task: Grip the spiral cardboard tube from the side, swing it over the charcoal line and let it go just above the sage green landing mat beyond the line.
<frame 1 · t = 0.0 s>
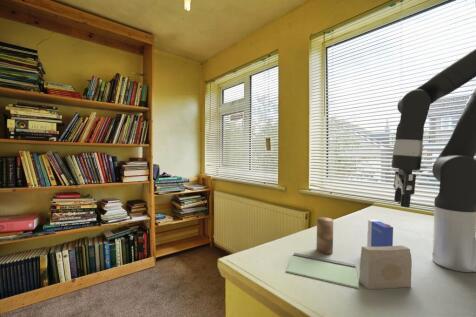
hand: (401, 204, 73), 17 cm above the table, tool pointing down, fingers open, 8 cm apart
fossil: (384, 285, 57), on the table
landing mat: (321, 270, 64), on the table
spiral cardboard tube: (324, 251, 76), on the table
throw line: (323, 260, 70), on the table
walkman: (378, 260, 71), on the table
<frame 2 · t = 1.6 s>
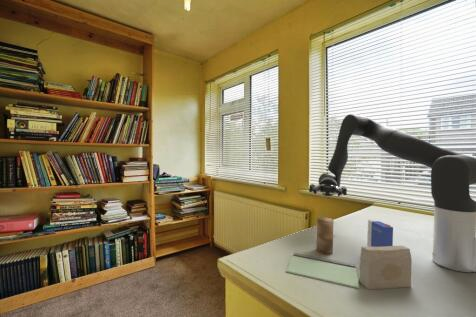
hand: (326, 192, 87), 18 cm above the table, tool horizontal, fingers open, 8 cm apart
nothing on the table moved.
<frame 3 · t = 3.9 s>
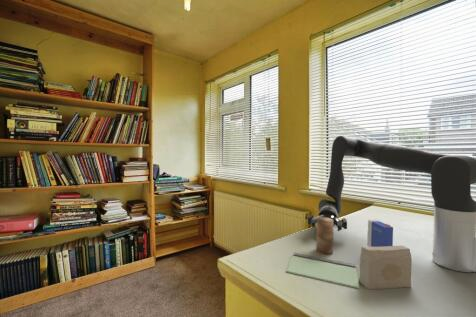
hand: (326, 226, 82), 6 cm above the table, tool horizontal, fingers open, 8 cm apart
nothing on the table moved.
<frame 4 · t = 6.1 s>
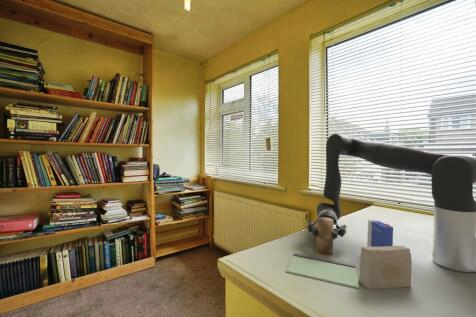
hand: (324, 234, 74), 7 cm above the table, tool horizontal, fingers closed on spiral cardboard tube, 5 cm apart
spiral cardboard tube: (324, 251, 76), on the table, touching gripper
everything else where it was.
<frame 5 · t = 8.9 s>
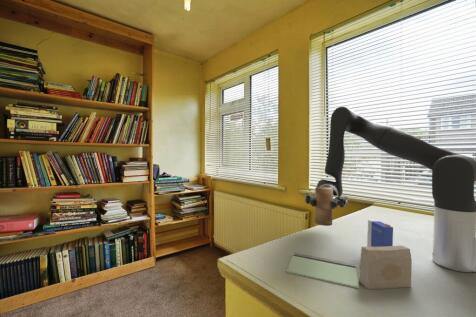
hand: (323, 204, 68), 18 cm above the table, tool horizontal, fingers closed on spiral cardboard tube, 5 cm apart
spiral cardboard tube: (323, 223, 70), point 11 cm above the table, touching gripper
everything else where it was.
when the fingers open (8 cm above the table, at t = 12.1 s): spiral cardboard tube stays where it is, resting on landing mat.
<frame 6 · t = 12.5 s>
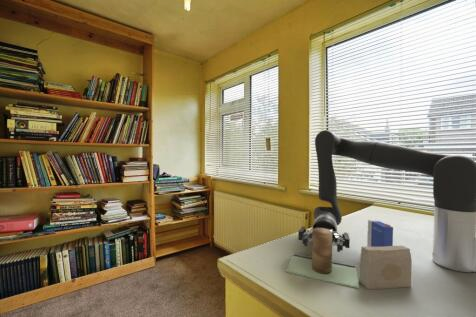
hand: (321, 245, 62), 8 cm above the table, tool horizontal, fingers open, 8 cm apart
spiral cardboard tube: (321, 269, 64), resting on landing mat
everything else where it was.
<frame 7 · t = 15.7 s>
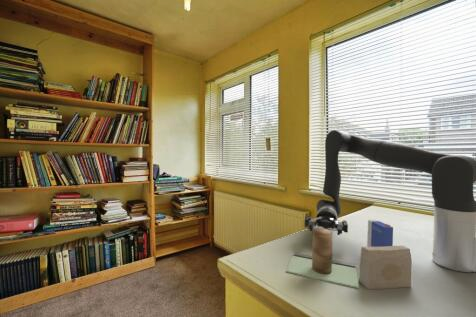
hand: (324, 230, 74), 8 cm above the table, tool horizontal, fingers open, 8 cm apart
nothing on the table moved.
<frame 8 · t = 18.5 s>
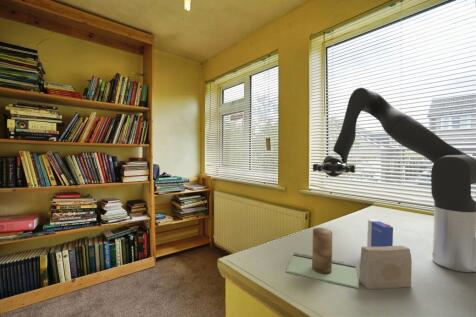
hand: (332, 169, 78), 28 cm above the table, tool horizontal, fingers open, 8 cm apart
nothing on the table moved.
at the end: spiral cardboard tube inside the target area (0.4 cm from its centre), resting on landing mat; the gripper is holding nothing; spiral cardboard tube tilted 0° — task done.
